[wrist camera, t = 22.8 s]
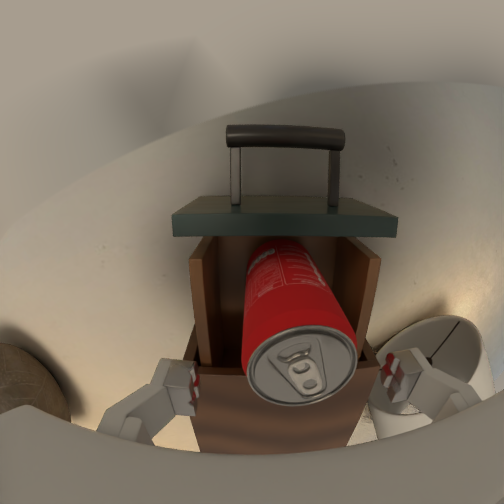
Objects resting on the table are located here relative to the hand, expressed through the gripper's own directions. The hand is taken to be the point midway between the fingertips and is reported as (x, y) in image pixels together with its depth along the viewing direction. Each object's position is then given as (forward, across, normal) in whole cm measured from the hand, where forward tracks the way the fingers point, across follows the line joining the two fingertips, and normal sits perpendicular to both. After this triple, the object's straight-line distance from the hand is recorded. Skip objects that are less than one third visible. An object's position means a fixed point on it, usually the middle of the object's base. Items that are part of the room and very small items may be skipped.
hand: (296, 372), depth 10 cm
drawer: (+13, 0, 0) cm, 13 cm away
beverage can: (+12, 0, 0) cm, 12 cm away
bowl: (+14, +38, +22) cm, 46 cm away
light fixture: (+14, -25, +21) cm, 35 cm away
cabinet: (+14, 0, +12) cm, 19 cm away
